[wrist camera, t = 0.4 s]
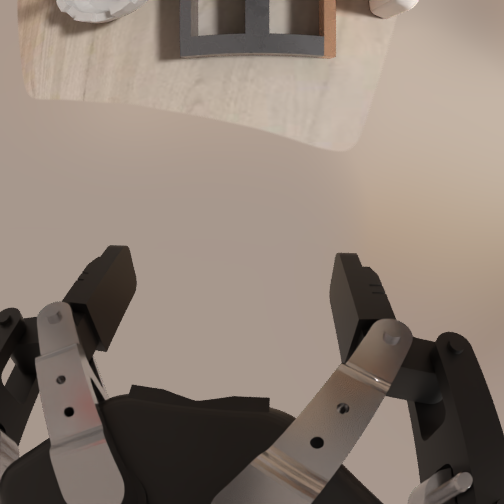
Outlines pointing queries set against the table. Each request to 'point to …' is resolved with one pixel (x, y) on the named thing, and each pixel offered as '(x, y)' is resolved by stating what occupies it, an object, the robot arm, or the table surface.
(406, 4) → the eye dropper bottle
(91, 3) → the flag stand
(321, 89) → the table surface
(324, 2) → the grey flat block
